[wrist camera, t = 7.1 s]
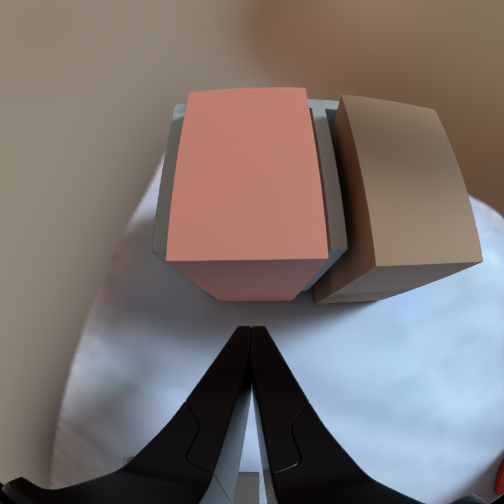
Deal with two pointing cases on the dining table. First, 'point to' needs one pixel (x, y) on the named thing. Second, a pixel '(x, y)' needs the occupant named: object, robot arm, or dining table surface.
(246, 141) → the salmon pink block
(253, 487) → the rubber mat
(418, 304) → the dining table surface
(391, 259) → the walnut plug
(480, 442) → the dining table surface
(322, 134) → the socket block
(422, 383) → the dining table surface
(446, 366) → the dining table surface
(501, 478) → the canned food
